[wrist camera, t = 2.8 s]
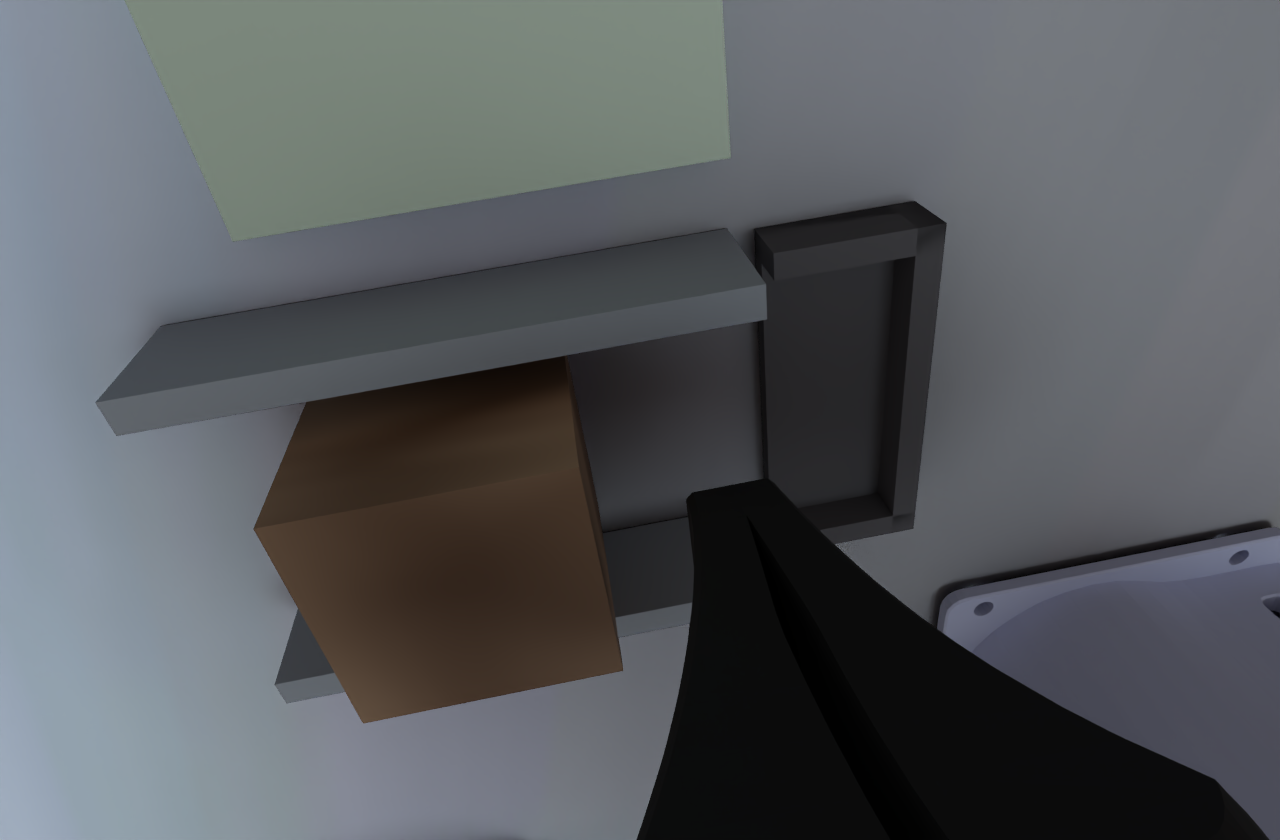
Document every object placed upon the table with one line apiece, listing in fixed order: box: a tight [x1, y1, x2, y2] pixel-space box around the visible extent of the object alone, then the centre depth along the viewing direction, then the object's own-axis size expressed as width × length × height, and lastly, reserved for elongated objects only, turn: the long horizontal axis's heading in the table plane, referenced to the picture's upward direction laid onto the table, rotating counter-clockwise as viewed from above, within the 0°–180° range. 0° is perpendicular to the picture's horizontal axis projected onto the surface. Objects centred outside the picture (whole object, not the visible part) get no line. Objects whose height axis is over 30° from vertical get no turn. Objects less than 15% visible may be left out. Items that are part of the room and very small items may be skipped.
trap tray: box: [755, 201, 947, 544], centre depth 15 cm, size 3×7×1 cm, turn 7°
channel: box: [96, 229, 767, 703], centre depth 14 cm, size 10×7×2 cm
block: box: [254, 355, 623, 723], centre depth 14 cm, size 4×4×4 cm
